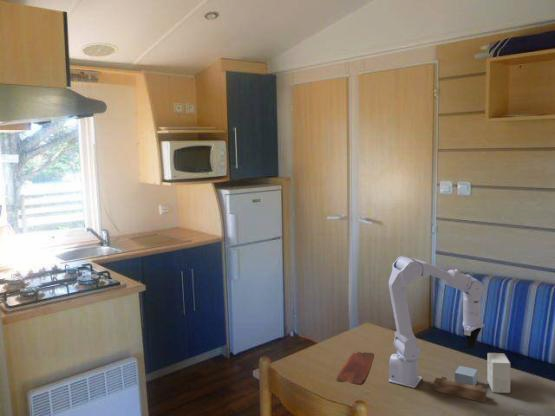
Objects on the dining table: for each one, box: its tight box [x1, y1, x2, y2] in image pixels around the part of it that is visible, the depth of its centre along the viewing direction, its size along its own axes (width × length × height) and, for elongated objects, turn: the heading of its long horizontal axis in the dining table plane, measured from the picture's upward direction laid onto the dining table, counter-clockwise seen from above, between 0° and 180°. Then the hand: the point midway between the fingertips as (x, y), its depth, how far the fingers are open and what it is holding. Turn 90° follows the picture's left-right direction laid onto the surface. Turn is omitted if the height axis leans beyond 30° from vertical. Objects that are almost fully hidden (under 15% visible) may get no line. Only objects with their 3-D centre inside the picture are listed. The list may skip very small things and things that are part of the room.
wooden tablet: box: [336, 351, 375, 386], centre depth 186 cm, size 27×10×2 cm, turn 158°
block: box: [454, 365, 478, 386], centre depth 169 cm, size 6×6×4 cm
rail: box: [433, 376, 487, 403], centre depth 163 cm, size 16×4×4 cm, turn 56°
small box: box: [486, 352, 511, 394], centre depth 165 cm, size 8×6×10 cm
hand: (471, 347), depth 175 cm, fingers closed
